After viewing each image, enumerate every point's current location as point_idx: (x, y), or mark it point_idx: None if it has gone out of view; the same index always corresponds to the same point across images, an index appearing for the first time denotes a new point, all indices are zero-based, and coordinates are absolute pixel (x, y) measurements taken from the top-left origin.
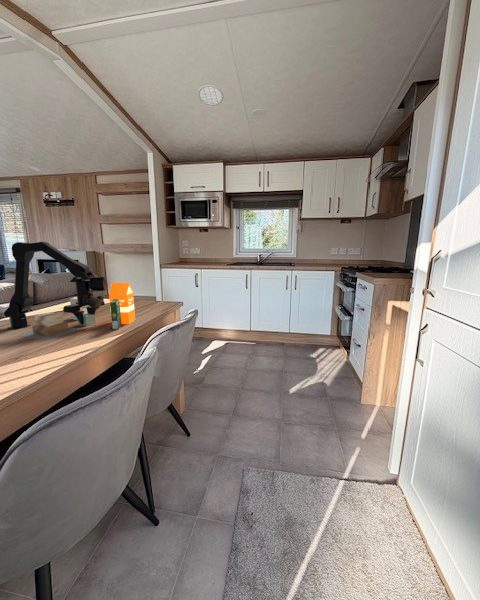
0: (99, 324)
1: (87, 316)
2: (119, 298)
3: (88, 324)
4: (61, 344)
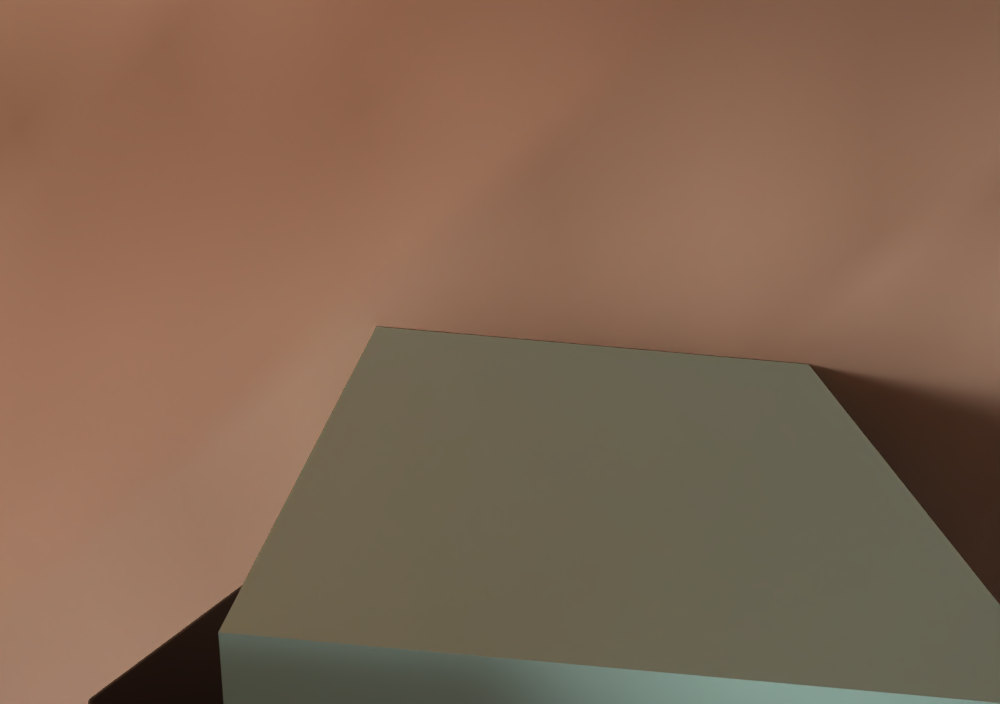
0: (369, 115)
1: (915, 680)
2: None
3: (743, 391)
4: None
